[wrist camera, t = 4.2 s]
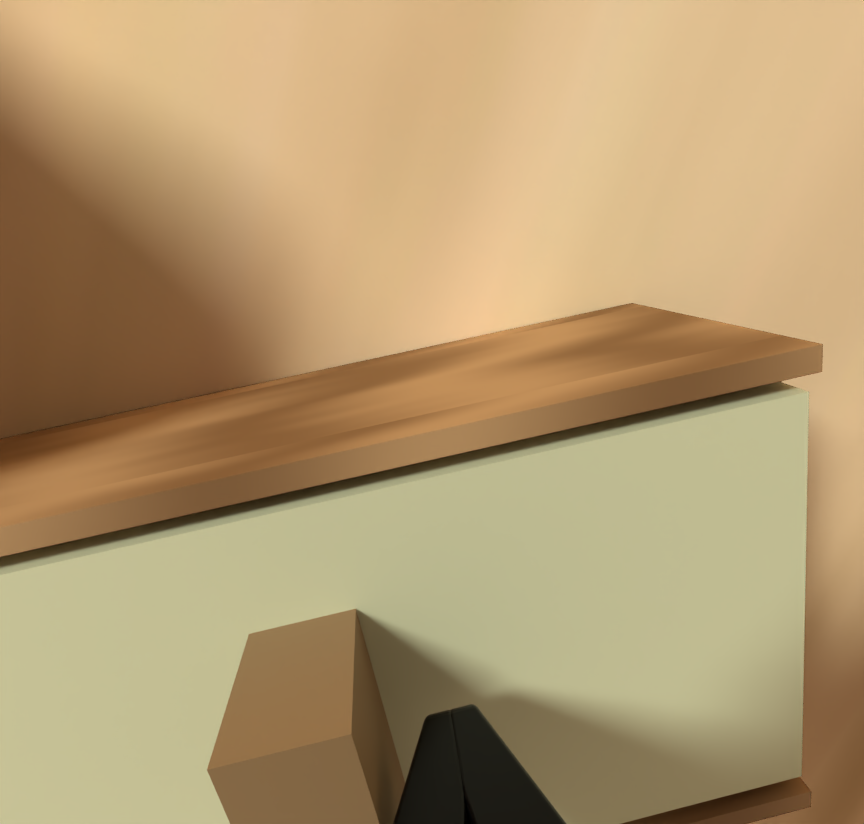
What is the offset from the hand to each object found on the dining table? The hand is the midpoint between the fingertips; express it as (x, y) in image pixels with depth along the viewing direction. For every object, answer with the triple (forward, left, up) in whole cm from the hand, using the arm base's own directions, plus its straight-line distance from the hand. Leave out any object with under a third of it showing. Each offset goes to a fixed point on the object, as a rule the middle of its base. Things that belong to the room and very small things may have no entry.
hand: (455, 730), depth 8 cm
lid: (+1, 0, -1) cm, 2 cm away
